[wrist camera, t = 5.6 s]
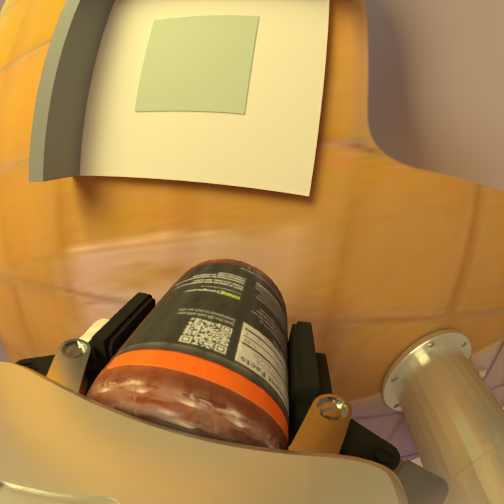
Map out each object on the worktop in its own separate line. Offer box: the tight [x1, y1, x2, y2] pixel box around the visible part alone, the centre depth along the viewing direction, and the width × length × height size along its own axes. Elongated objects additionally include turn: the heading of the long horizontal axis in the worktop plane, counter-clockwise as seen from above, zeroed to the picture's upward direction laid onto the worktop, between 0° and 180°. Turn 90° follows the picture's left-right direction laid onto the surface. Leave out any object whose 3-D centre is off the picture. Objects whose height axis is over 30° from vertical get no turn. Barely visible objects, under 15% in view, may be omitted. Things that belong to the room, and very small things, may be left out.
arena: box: [29, 0, 329, 196], centre depth 15 cm, size 22×22×6 cm
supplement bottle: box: [86, 259, 289, 450], centre depth 8 cm, size 6×6×11 cm
